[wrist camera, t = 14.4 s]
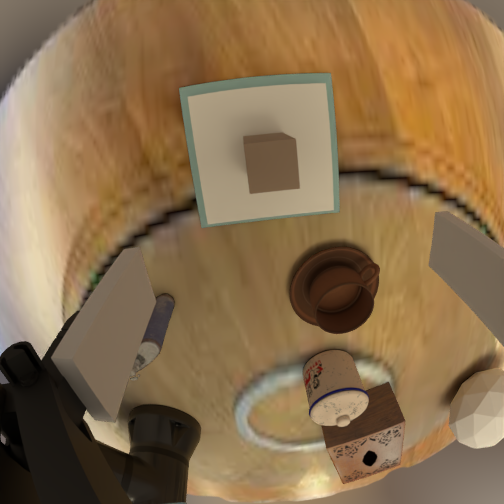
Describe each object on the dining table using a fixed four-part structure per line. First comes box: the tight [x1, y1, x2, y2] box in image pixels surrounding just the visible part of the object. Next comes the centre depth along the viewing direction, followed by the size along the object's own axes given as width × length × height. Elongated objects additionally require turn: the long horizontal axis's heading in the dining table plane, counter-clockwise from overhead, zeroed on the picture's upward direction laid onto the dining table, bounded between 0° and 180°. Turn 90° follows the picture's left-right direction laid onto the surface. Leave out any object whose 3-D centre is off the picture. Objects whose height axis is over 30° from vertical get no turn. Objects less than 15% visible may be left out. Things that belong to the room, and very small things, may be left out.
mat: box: [179, 73, 340, 228], centre depth 31 cm, size 16×16×1 cm
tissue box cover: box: [322, 382, 405, 484], centre depth 52 cm, size 26×14×10 cm, turn 20°
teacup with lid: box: [303, 350, 369, 427], centre depth 42 cm, size 12×9×12 cm
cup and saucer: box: [290, 247, 380, 334], centre depth 37 cm, size 12×12×6 cm
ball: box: [449, 367, 504, 448], centre depth 46 cm, size 19×20×20 cm
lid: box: [188, 83, 334, 224], centre depth 27 cm, size 14×14×9 cm
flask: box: [130, 294, 174, 380], centre depth 36 cm, size 10×3×12 cm, turn 129°
